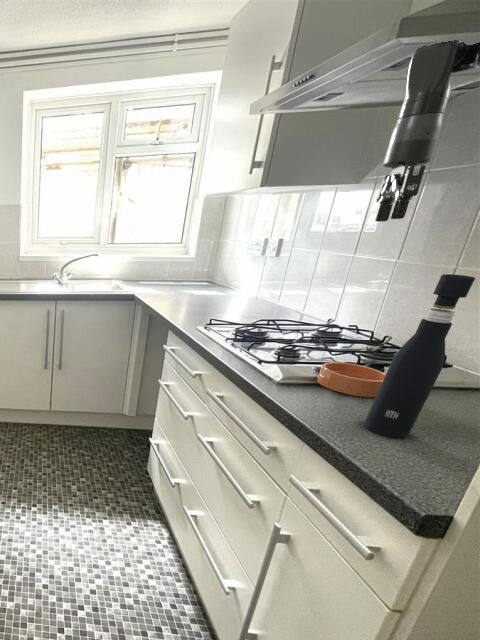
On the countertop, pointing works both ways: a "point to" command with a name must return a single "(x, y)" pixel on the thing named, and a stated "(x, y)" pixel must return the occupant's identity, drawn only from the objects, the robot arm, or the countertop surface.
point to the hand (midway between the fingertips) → (388, 220)
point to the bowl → (351, 379)
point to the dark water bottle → (416, 364)
